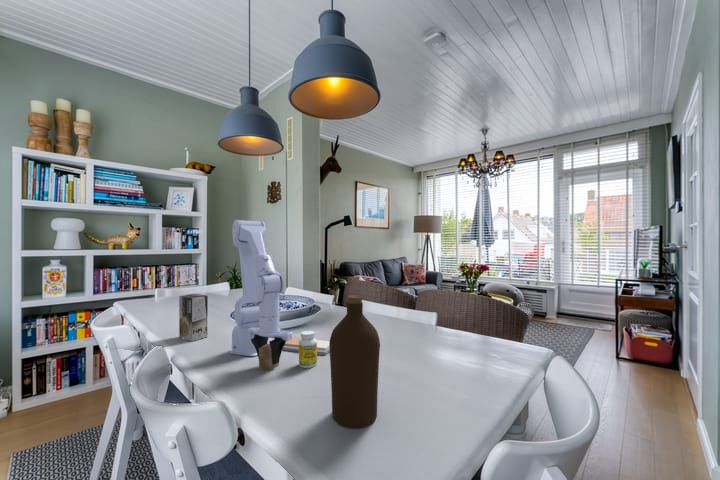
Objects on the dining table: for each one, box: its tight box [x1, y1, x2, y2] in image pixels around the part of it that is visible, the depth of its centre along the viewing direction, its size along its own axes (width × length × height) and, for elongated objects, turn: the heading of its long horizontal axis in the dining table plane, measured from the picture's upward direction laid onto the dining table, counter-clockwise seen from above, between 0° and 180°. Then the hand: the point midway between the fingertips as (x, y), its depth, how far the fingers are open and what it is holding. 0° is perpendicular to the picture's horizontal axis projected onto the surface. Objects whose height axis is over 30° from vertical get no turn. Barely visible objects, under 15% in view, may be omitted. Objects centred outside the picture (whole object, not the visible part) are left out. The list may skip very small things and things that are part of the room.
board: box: [282, 336, 330, 356], centre depth 107 cm, size 18×11×2 cm, turn 72°
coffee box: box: [178, 293, 209, 342], centre depth 117 cm, size 9×6×16 cm
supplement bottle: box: [298, 330, 318, 369], centre depth 91 cm, size 5×5×10 cm
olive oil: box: [329, 294, 381, 429], centre depth 65 cm, size 11×11×25 cm
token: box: [258, 343, 280, 372], centre depth 90 cm, size 4×4×6 cm
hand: (269, 362), depth 90 cm, fingers closed on token, 4 cm apart
